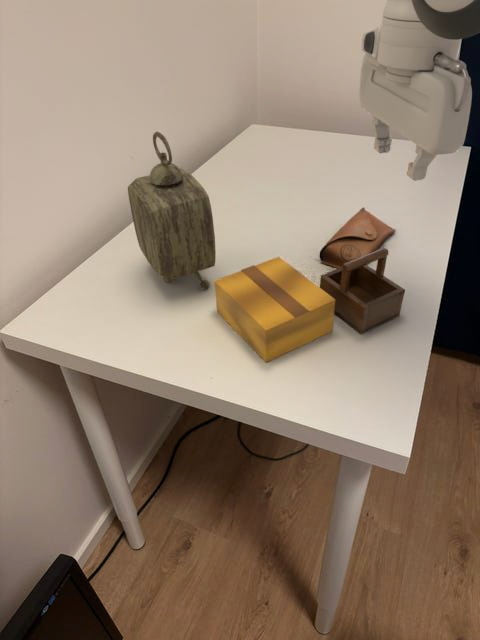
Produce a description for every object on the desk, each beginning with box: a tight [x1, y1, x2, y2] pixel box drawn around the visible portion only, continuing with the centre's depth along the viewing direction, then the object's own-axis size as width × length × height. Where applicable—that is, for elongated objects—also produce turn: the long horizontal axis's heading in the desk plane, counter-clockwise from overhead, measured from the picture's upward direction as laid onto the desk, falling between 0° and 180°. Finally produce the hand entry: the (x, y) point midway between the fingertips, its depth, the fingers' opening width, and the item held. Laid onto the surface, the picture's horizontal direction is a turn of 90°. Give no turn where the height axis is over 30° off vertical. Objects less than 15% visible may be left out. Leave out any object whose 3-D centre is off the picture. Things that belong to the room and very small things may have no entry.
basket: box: [319, 247, 406, 335], centre depth 74 cm, size 10×8×10 cm
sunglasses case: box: [319, 207, 397, 269], centre depth 90 cm, size 18×7×7 cm, turn 147°
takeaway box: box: [214, 256, 335, 363], centre depth 73 cm, size 14×12×6 cm
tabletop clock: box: [127, 131, 216, 290], centre depth 77 cm, size 14×9×25 cm, turn 27°
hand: (397, 163), depth 64 cm, fingers open, 8 cm apart
